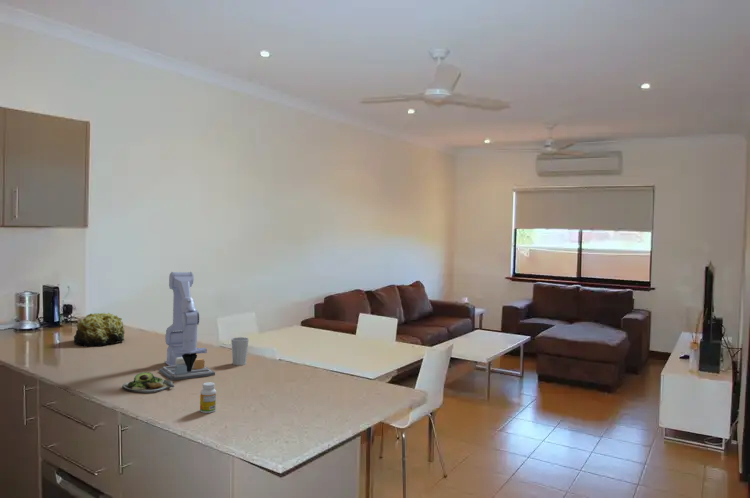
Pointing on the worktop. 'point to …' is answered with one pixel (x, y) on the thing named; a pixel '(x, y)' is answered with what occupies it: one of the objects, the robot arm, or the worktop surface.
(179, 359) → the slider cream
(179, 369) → the slider blue
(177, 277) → the robot arm
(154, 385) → the salad plate
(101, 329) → the mossy green rock
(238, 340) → the cup
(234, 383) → the worktop surface
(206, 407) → the supplement bottle
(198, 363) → the slider orange
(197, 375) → the panel
